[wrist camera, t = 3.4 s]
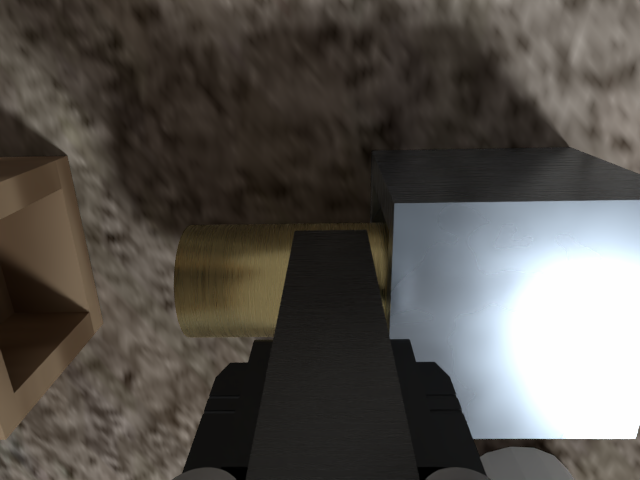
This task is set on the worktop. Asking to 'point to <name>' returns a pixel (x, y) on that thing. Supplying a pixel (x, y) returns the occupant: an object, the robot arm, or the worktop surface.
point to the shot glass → (523, 465)
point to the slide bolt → (305, 342)
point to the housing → (518, 284)
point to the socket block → (40, 282)
